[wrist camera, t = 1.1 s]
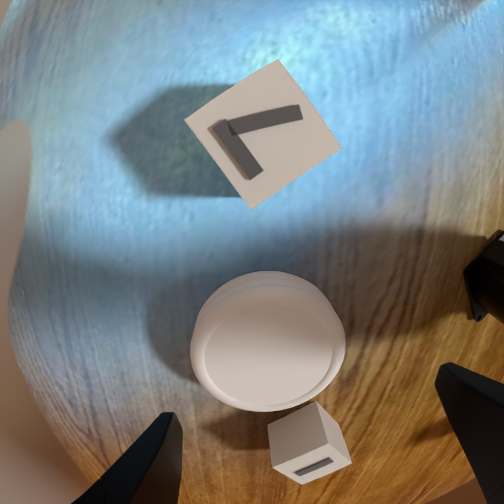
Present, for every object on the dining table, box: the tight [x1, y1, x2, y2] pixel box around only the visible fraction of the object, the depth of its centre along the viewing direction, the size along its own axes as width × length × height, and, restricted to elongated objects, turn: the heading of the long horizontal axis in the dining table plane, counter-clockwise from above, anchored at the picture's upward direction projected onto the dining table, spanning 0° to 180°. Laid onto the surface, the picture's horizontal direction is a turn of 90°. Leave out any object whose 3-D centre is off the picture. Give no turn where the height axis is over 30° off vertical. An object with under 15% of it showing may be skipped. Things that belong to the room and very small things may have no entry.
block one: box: [267, 401, 352, 484], centre depth 21 cm, size 5×5×5 cm
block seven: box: [185, 59, 342, 210], centre depth 14 cm, size 5×5×5 cm
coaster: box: [190, 271, 345, 412], centre depth 19 cm, size 10×10×4 cm
